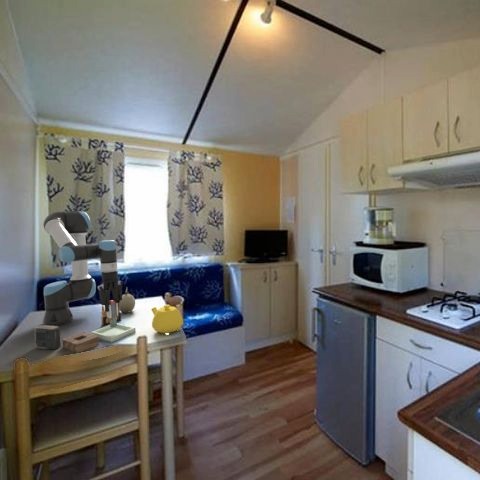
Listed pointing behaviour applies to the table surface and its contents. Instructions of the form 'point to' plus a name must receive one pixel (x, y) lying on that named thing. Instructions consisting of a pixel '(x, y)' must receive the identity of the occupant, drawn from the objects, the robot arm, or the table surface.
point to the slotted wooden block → (80, 342)
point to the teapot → (166, 319)
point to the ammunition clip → (107, 320)
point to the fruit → (127, 303)
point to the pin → (113, 314)
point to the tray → (113, 332)
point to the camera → (47, 337)
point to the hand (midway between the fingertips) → (112, 316)
